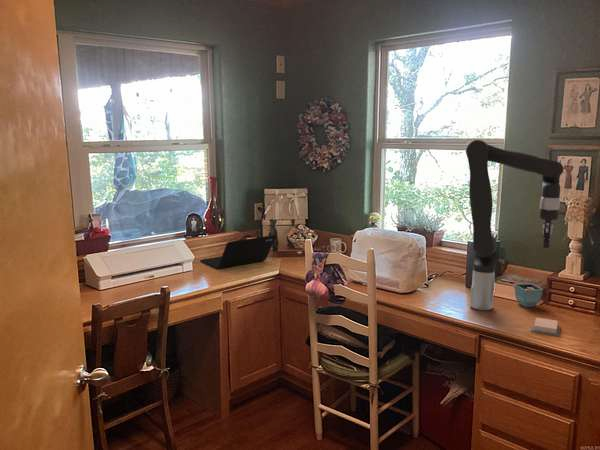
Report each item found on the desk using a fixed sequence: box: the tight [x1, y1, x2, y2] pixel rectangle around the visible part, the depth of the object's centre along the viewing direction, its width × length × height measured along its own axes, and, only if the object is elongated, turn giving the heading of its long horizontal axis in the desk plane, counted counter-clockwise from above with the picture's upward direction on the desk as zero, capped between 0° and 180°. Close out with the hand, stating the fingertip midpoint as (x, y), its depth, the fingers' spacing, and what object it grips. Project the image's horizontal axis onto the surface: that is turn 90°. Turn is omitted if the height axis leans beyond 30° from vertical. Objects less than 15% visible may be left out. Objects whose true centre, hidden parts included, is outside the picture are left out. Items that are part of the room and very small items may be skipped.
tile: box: [534, 317, 558, 334], centre depth 203 cm, size 8×2×10 cm
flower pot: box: [514, 283, 543, 308], centre depth 230 cm, size 9×9×9 cm
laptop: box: [199, 234, 277, 270], centre depth 306 cm, size 33×38×19 cm
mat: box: [530, 321, 561, 337], centre depth 203 cm, size 10×10×1 cm
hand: (546, 247), depth 218 cm, fingers closed
